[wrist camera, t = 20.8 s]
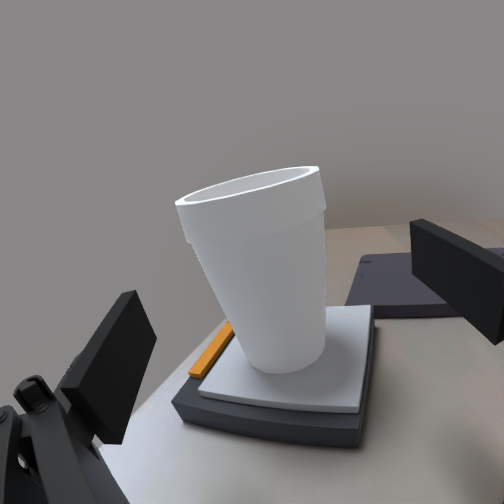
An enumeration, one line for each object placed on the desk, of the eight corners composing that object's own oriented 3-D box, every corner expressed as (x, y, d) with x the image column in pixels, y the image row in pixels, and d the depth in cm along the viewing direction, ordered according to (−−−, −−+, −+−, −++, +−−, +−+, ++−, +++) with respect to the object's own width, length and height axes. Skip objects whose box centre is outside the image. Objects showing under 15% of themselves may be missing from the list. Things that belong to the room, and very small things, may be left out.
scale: (182, 420, 22) (166, 394, 21) (246, 326, 33) (239, 301, 32) (358, 448, 16) (358, 421, 15) (374, 325, 27) (373, 297, 26)
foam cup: (208, 380, 21) (144, 214, 17) (254, 314, 29) (217, 181, 25) (333, 394, 17) (300, 185, 13) (352, 313, 25) (330, 161, 21)
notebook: (345, 317, 30) (532, 310, 19) (344, 305, 30) (535, 296, 19) (362, 264, 40) (503, 257, 30) (361, 254, 40) (504, 247, 29)
